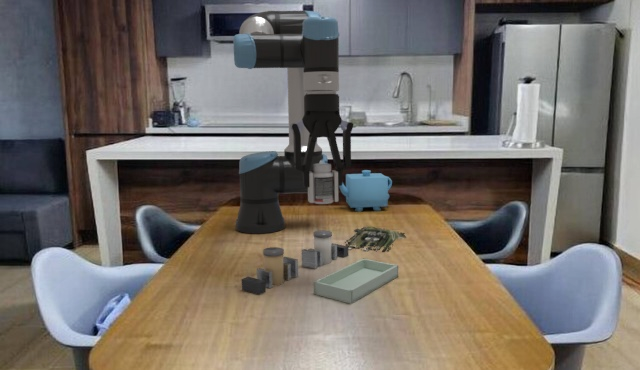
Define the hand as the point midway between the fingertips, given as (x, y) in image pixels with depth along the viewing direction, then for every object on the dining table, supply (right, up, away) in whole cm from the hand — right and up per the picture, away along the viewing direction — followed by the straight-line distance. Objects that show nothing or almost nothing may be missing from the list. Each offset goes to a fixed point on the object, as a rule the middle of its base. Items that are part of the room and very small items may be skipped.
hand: (323, 200), depth 117 cm
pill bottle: (0, 0, 0) cm, 1 cm away
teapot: (+14, -5, +75) cm, 76 cm away
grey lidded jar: (0, -15, +15) cm, 21 cm away
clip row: (-5, -17, +8) cm, 19 cm away
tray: (+8, -18, -2) cm, 20 cm away
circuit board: (+15, -13, +34) cm, 39 cm away
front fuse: (-11, -18, +1) cm, 21 cm away
